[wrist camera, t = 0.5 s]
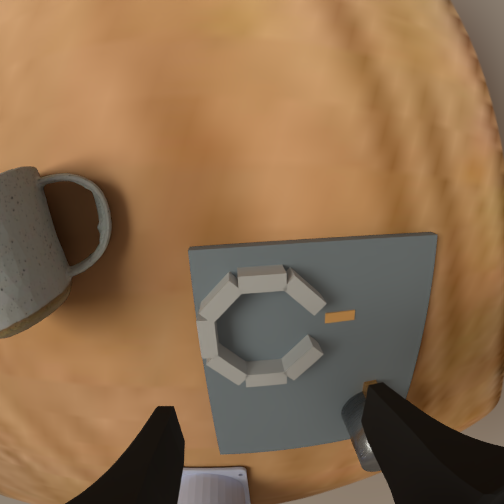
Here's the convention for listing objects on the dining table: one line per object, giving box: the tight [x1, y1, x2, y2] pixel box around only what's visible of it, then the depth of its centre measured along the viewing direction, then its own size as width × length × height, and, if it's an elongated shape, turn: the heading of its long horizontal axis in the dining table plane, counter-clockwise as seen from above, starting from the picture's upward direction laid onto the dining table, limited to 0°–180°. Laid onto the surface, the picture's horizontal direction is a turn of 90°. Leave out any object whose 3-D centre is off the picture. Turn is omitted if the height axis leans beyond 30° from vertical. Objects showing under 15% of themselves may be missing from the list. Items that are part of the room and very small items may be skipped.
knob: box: [341, 380, 381, 472], centre depth 19 cm, size 5×4×6 cm
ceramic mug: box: [0, 166, 112, 338], centre depth 14 cm, size 11×8×8 cm
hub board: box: [188, 232, 437, 454], centre depth 20 cm, size 18×16×2 cm
